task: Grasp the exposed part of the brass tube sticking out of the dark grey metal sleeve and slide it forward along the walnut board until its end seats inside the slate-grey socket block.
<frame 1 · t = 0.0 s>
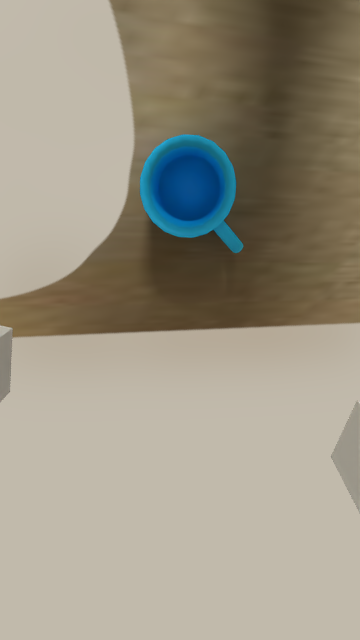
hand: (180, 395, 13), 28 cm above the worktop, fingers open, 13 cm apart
mug: (201, 203, 37), on the worktop
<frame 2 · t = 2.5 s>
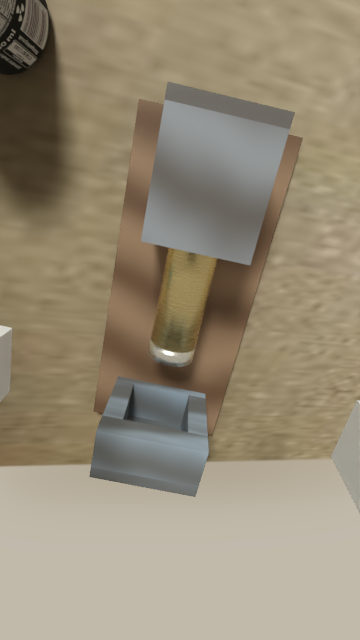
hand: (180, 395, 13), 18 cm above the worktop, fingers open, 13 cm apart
rig: (184, 281, 30), on the worktop
beverage can: (8, 23, 24), on the worktop
tube: (192, 257, 25), point 5 cm above the worktop, slide at 0.0 cm
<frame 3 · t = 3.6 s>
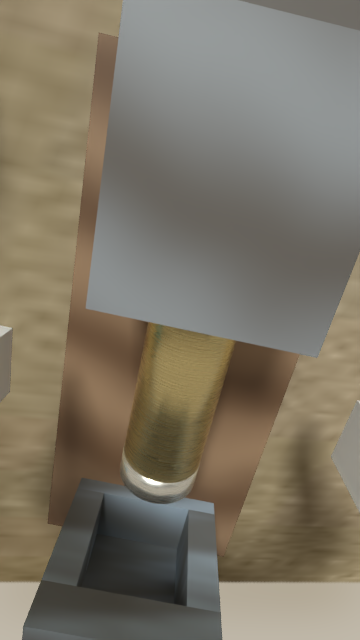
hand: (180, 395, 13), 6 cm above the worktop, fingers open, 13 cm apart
rig: (182, 339, 19), on the worktop
tube: (194, 319, 14), point 5 cm above the worktop, slide at 0.0 cm
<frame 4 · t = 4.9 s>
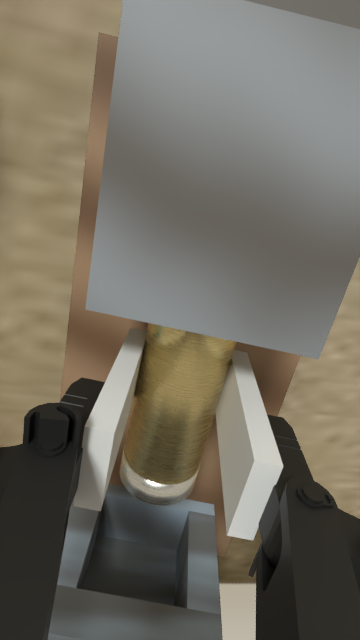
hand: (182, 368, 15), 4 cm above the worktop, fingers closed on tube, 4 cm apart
rig: (183, 340, 19), on the worktop
tube: (195, 320, 14), point 5 cm above the worktop, slide at 0.0 cm, touching gripper
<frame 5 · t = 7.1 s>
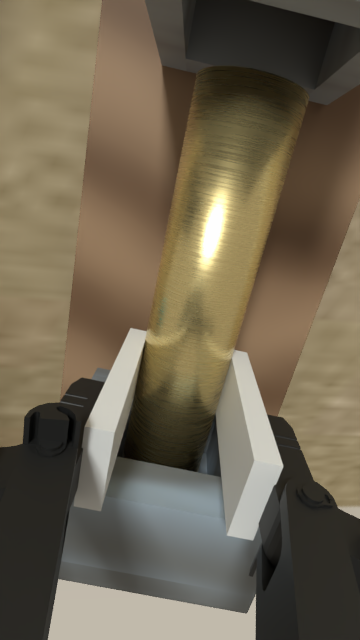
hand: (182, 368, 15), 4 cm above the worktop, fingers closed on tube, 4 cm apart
rig: (218, 190, 16), on the worktop
tube: (195, 320, 14), point 5 cm above the worktop, slide at 7.9 cm, touching gripper
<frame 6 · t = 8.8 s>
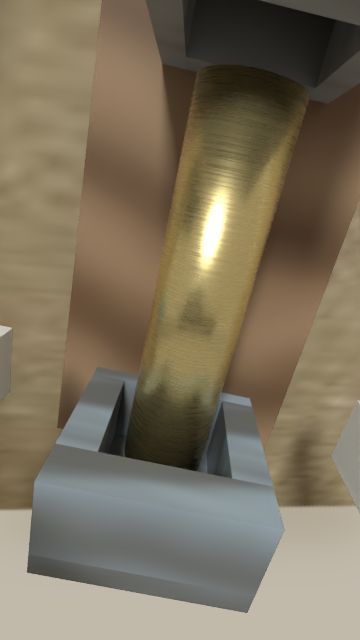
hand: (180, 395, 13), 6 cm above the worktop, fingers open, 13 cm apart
rig: (218, 189, 16), on the worktop
tube: (195, 319, 14), point 5 cm above the worktop, slide at 8.0 cm
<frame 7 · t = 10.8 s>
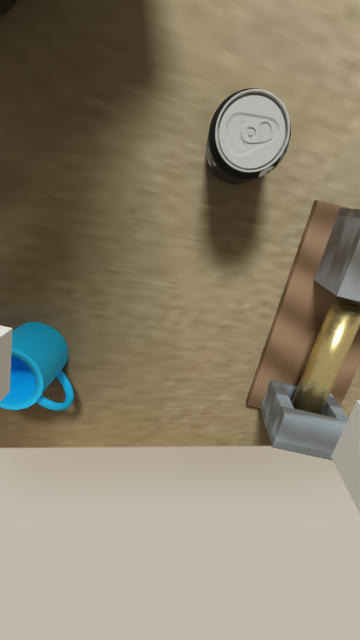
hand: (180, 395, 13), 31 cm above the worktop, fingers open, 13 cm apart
mug: (49, 358, 48), on the worktop
rig: (325, 314, 43), on the worktop
beverage can: (235, 152, 38), on the worktop
tube: (323, 365, 41), point 5 cm above the worktop, slide at 8.0 cm
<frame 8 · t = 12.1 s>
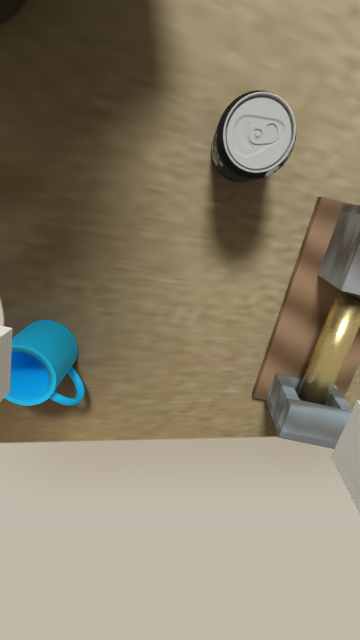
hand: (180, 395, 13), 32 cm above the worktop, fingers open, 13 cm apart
mug: (60, 355, 49), on the worktop
rig: (329, 307, 45), on the worktop
beverage can: (240, 150, 39), on the worktop
tube: (328, 357, 42), point 5 cm above the worktop, slide at 8.0 cm
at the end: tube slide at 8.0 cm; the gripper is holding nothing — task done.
